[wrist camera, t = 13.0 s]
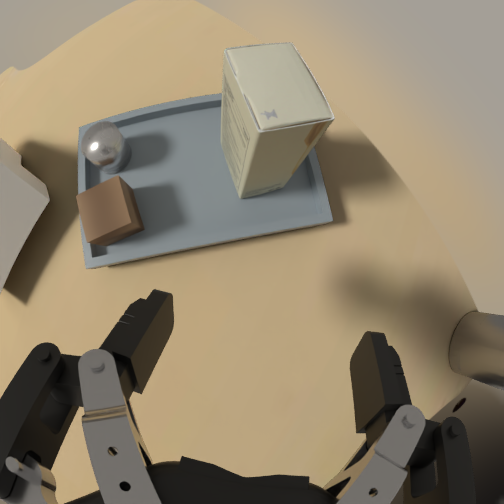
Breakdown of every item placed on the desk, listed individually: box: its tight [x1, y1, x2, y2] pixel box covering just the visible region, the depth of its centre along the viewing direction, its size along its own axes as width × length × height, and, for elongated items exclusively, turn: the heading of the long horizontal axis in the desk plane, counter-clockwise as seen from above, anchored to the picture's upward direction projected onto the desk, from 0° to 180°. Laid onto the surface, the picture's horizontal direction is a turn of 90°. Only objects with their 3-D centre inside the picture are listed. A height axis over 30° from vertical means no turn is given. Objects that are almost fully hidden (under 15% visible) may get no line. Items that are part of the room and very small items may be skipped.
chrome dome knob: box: [81, 121, 131, 175], centre depth 21 cm, size 4×4×4 cm
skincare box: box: [221, 43, 334, 199], centre depth 18 cm, size 6×4×12 cm
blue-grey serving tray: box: [78, 93, 333, 269], centre depth 24 cm, size 22×14×3 cm, turn 101°
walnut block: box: [76, 175, 145, 246], centre depth 20 cm, size 4×4×4 cm
